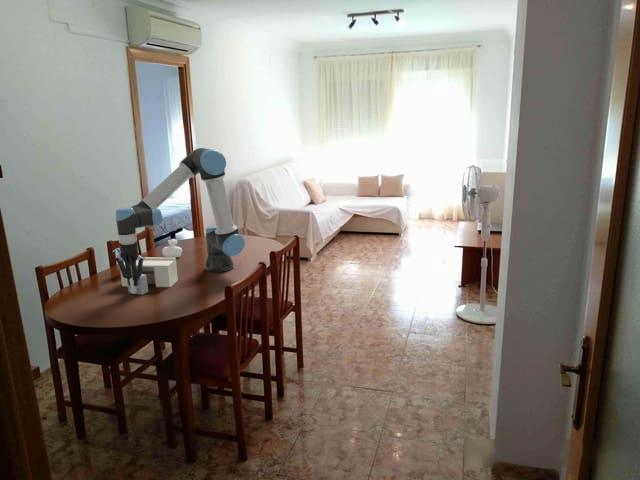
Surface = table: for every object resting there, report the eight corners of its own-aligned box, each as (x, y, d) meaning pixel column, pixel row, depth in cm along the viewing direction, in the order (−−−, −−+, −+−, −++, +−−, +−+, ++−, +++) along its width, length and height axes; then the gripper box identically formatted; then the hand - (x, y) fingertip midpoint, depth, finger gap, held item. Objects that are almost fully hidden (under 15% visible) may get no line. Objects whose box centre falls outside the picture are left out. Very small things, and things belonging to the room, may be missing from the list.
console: (177, 280, 249) (175, 257, 246) (170, 287, 239) (167, 263, 237) (131, 279, 252) (129, 257, 249) (122, 286, 242) (119, 262, 239)
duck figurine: (183, 260, 291) (186, 242, 296) (178, 255, 284) (182, 237, 289) (163, 259, 293) (167, 242, 297) (158, 255, 286) (162, 237, 290)
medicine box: (148, 291, 234) (146, 274, 232) (142, 295, 230) (140, 277, 228) (134, 290, 236) (132, 272, 234) (128, 293, 232) (126, 275, 230)
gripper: (145, 240, 225) (151, 289, 231) (118, 240, 227) (124, 289, 233) (138, 244, 218) (144, 295, 224) (110, 244, 219) (116, 295, 225)
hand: (134, 292), depth 228 cm, fingers closed
